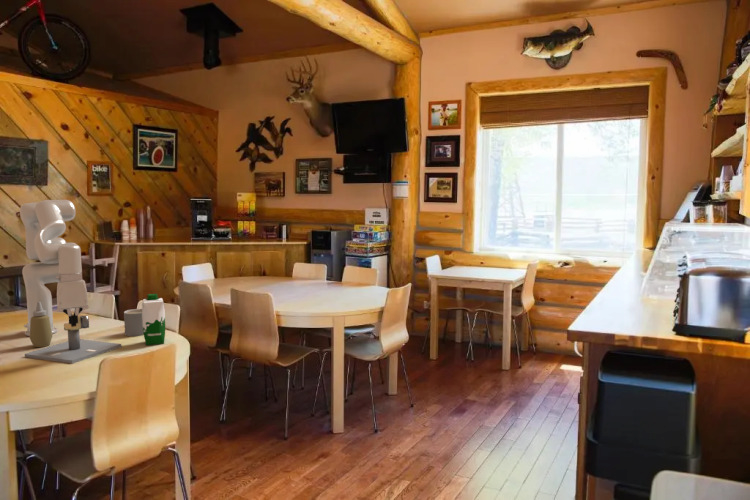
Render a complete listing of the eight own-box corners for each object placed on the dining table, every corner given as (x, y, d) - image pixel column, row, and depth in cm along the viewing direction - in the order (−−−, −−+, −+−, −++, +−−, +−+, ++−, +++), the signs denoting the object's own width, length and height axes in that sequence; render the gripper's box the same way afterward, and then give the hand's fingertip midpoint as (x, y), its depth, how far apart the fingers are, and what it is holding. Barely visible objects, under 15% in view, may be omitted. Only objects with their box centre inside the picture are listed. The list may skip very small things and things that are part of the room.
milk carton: (165, 338, 249) (163, 292, 247) (166, 344, 241) (164, 296, 238) (143, 341, 245) (140, 294, 243) (143, 346, 237) (141, 298, 235)
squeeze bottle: (57, 344, 241) (54, 301, 239) (40, 349, 233) (37, 305, 231) (42, 342, 243) (40, 299, 241) (25, 347, 236) (22, 303, 234)
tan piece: (78, 334, 219) (77, 318, 218) (61, 328, 228) (60, 312, 227) (95, 331, 224) (94, 315, 223) (77, 325, 233) (77, 310, 232)
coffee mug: (127, 337, 251) (126, 314, 250) (122, 332, 260) (121, 310, 259) (159, 333, 259) (158, 311, 258) (154, 328, 267) (153, 307, 266)
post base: (24, 356, 222) (23, 333, 221) (76, 341, 245) (75, 320, 244) (72, 363, 214) (71, 339, 213) (121, 346, 236) (120, 325, 236)
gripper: (48, 280, 211) (51, 330, 213) (94, 277, 219) (96, 325, 221) (47, 278, 217) (50, 326, 219) (91, 274, 225) (94, 321, 227)
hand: (73, 325), depth 220 cm, fingers closed
